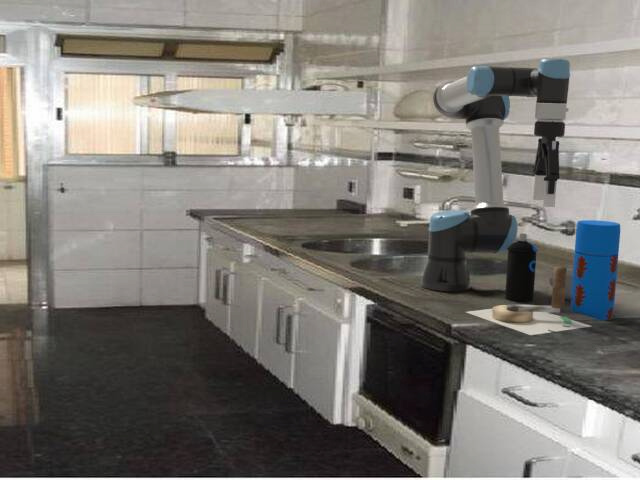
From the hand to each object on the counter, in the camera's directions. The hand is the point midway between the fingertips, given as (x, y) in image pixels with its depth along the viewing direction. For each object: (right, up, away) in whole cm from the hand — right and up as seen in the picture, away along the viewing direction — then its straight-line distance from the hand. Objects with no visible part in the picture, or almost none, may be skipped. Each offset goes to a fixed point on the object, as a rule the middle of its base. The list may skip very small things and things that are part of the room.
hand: (543, 203), depth 202 cm
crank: (-6, -29, -7) cm, 31 cm away
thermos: (+14, -30, +4) cm, 33 cm away
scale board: (-6, -31, -6) cm, 32 cm away
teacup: (+15, -27, +24) cm, 39 cm away
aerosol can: (-2, -28, +16) cm, 32 cm away
